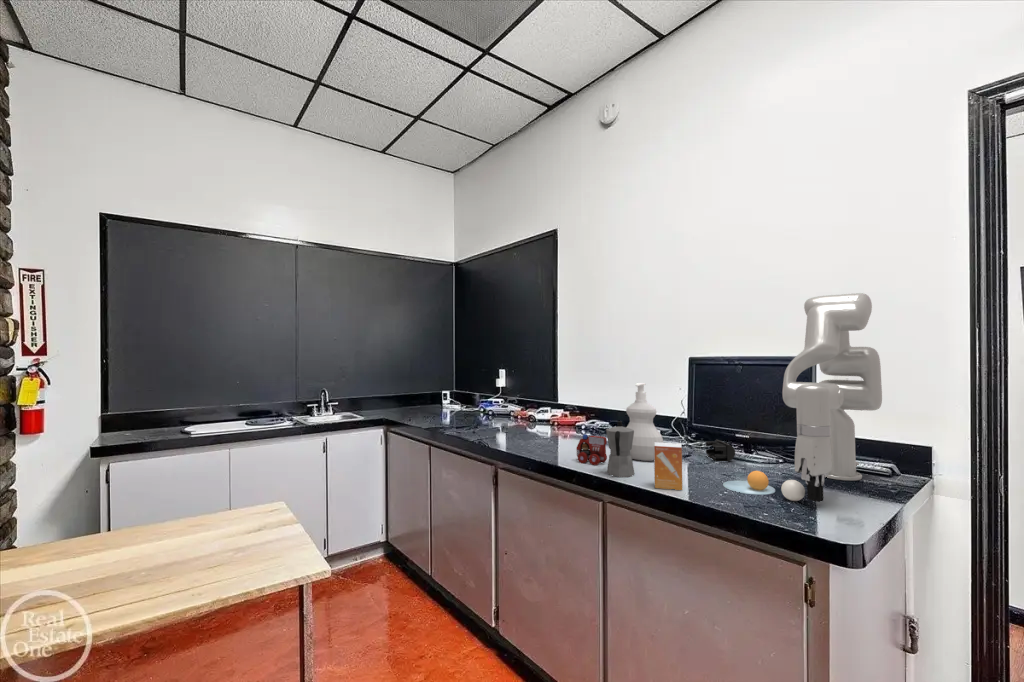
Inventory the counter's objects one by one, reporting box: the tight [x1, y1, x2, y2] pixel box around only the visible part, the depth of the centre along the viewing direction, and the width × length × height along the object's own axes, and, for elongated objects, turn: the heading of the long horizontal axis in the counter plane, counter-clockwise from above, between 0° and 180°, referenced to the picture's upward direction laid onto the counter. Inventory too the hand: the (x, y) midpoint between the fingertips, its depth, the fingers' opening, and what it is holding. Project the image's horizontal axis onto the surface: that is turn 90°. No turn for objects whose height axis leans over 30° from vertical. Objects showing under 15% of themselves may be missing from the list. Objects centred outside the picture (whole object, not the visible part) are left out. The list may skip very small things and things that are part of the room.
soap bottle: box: [625, 382, 664, 462], centre depth 176 cm, size 17×12×29 cm
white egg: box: [780, 479, 806, 502], centre depth 125 cm, size 6×6×6 cm
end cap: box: [705, 439, 736, 462], centre depth 174 cm, size 10×7×7 cm
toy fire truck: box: [576, 433, 608, 466], centre depth 171 cm, size 7×12×10 cm, turn 49°
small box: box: [653, 442, 683, 491], centre depth 139 cm, size 8×6×13 cm
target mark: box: [722, 479, 776, 496], centre depth 137 cm, size 14×14×1 cm
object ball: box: [746, 470, 770, 490], centre depth 135 cm, size 6×6×6 cm
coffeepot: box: [605, 420, 635, 478], centre depth 154 cm, size 15×9×18 cm, turn 160°
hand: (815, 500), depth 121 cm, fingers closed
